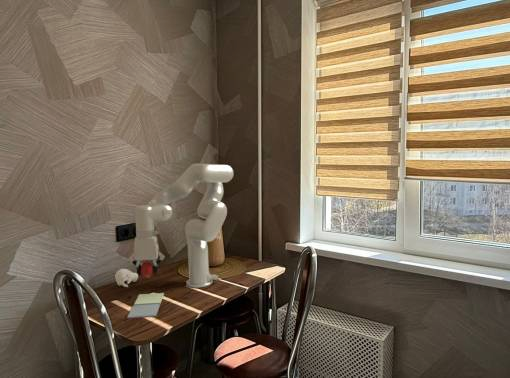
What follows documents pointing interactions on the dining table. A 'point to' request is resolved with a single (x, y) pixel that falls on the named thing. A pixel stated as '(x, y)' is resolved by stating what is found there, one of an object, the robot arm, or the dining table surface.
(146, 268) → the onion
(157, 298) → the mat
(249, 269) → the dining table surface
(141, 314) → the toy mat
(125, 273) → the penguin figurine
